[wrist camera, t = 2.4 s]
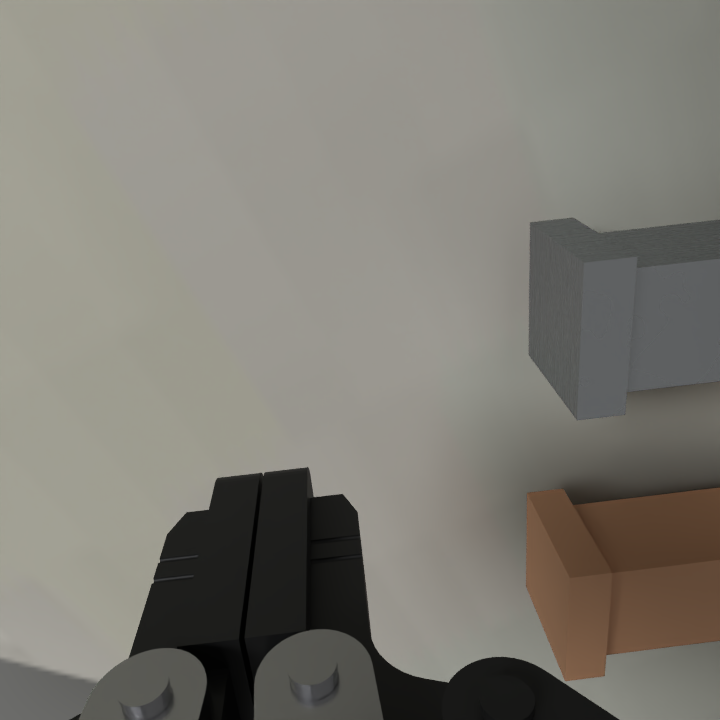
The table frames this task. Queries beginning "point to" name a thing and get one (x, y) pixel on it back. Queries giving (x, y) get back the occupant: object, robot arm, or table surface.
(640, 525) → the rust plug
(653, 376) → the grey plug
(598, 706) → the robot arm
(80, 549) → the table surface
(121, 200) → the table surface
